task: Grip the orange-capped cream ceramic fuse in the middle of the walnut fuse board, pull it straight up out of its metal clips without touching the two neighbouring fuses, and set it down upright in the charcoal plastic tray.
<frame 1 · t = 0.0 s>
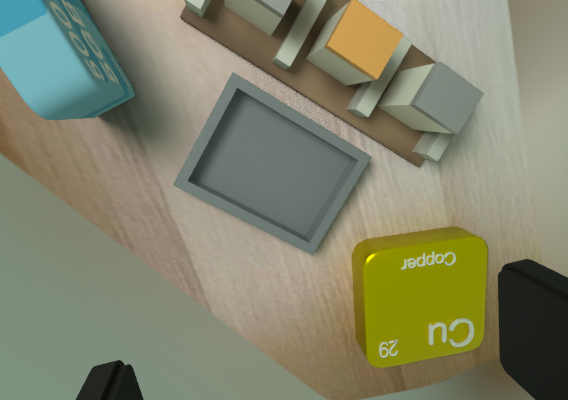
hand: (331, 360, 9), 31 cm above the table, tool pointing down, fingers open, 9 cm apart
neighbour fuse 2: (405, 101, 39), point 1 cm above the table, touching fuse board
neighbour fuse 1: (258, 1, 35), point 1 cm above the table, touching fuse board
tray: (271, 166, 39), on the table
fuse board: (334, 55, 38), on the table
data package: (82, 48, 34), on the table
element tile: (409, 286, 46), on the table
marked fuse: (336, 54, 37), point 1 cm above the table, touching fuse board
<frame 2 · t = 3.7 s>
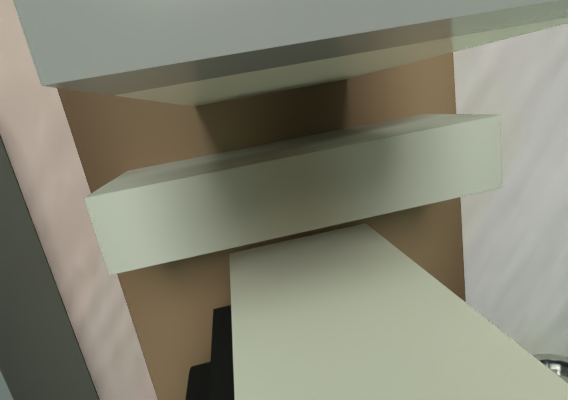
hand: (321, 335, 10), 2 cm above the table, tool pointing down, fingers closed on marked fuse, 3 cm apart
fuse board: (306, 300, 12), on the table
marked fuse: (312, 314, 11), point 1 cm above the table, touching fuse board, gripper
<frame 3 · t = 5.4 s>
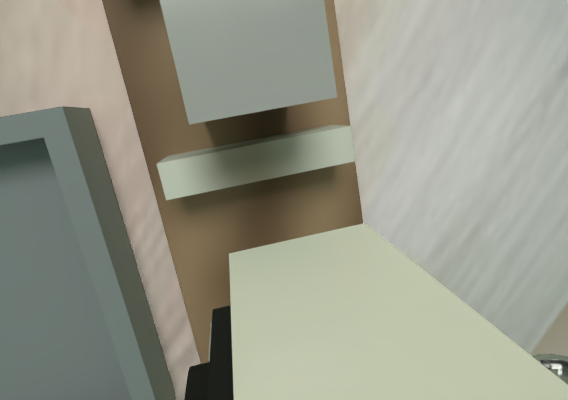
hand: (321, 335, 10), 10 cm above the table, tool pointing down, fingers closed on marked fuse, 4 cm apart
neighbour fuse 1: (234, 58, 17), point 1 cm above the table, touching fuse board
tray: (13, 293, 18), on the table
fuse board: (269, 235, 20), on the table
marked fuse: (311, 314, 11), point 9 cm above the table, touching gripper
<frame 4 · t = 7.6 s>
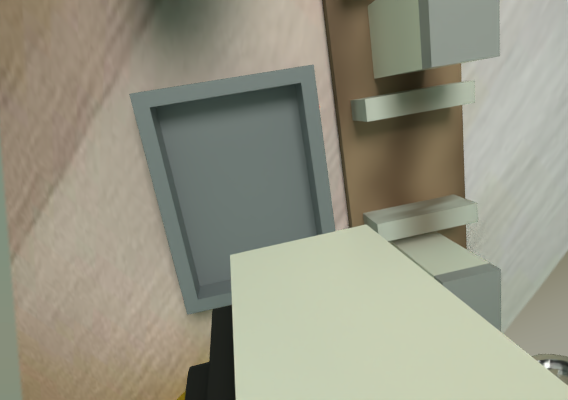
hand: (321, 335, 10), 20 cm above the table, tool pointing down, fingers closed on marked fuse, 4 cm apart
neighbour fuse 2: (413, 261, 32), point 1 cm above the table, touching fuse board
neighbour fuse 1: (396, 39, 27), point 1 cm above the table, touching fuse board
tray: (244, 187, 29), on the table
fuse board: (401, 157, 30), on the table
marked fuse: (312, 315, 11), point 19 cm above the table, touching gripper
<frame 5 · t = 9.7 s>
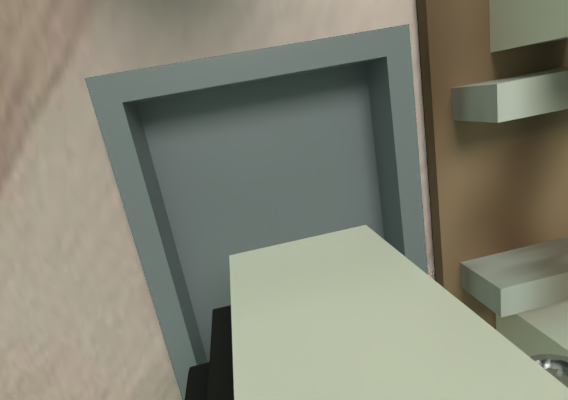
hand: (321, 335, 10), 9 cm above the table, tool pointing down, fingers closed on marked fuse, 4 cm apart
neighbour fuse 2: (527, 328, 21), point 1 cm above the table, touching fuse board
tray: (280, 228, 18), on the table
fuse board: (516, 176, 20), on the table
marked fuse: (312, 316, 11), point 8 cm above the table, touching gripper
when the fingers open (3 cm above the table, at t = 11.5 s): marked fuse drops 1 cm, resting on tray.
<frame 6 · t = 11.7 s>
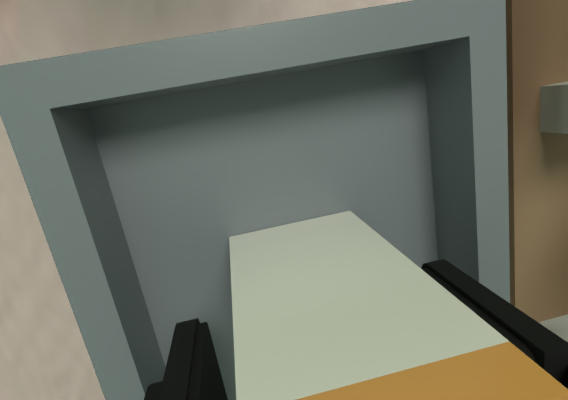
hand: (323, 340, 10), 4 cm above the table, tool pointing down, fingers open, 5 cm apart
tray: (297, 280, 13), on the table
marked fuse: (302, 291, 12), point 1 cm above the table, touching tray
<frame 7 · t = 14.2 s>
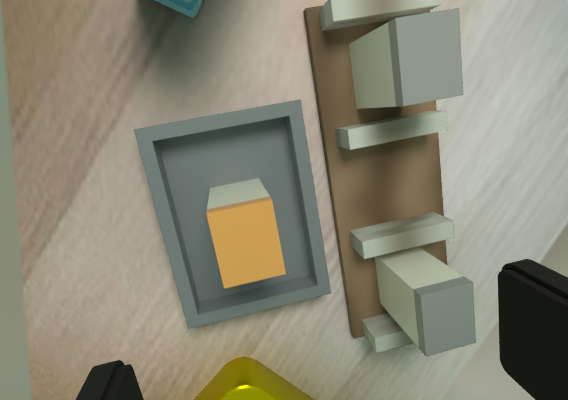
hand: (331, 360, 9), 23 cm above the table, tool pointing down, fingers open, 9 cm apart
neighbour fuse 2: (397, 274, 34), point 1 cm above the table, touching fuse board
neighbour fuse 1: (376, 73, 30), point 1 cm above the table, touching fuse board
tray: (239, 209, 31), on the table
fuse board: (383, 179, 33), on the table
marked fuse: (240, 212, 30), point 1 cm above the table, touching tray
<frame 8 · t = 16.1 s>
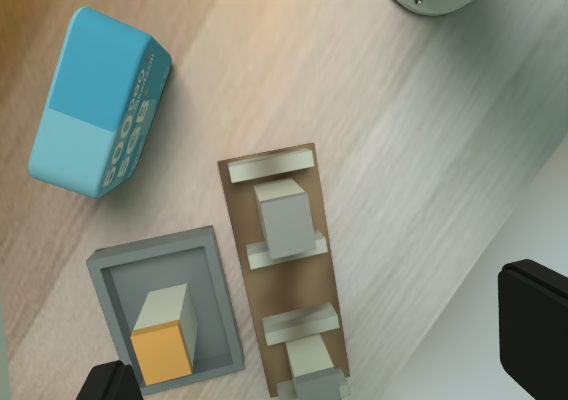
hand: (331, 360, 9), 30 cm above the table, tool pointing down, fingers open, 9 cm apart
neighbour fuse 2: (303, 348, 43), point 1 cm above the table, touching fuse board
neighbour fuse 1: (276, 204, 39), point 1 cm above the table, touching fuse board
tray: (174, 304, 40), on the table
fuse board: (289, 277, 42), on the table
data package: (130, 108, 35), on the table
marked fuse: (173, 308, 40), point 1 cm above the table, touching tray
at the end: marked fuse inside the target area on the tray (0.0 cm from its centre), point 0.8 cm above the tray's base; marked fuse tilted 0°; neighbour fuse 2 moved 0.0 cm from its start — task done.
